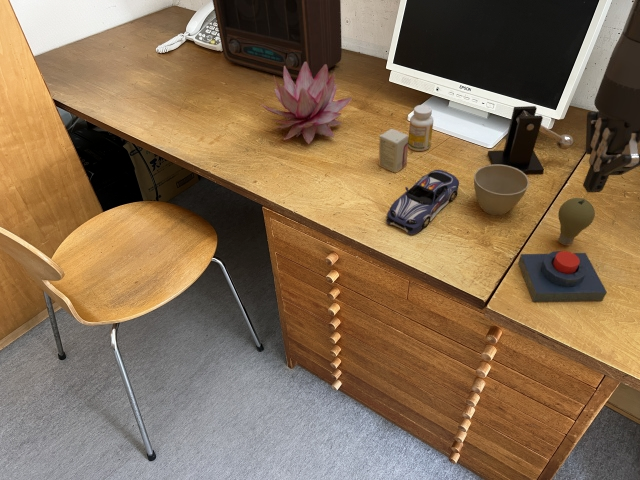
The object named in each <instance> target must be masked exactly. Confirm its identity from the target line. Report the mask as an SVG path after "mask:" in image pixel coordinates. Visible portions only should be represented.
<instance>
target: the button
mask: <svg viewBox="0 0 640 480" xmlns="http://www.w3.org/2000/svg"><path fill="white" fill-rule="evenodd" d="M560 251H561V252H559V253H557V254H556V256H555V259H554V261H553V266H554V268H555V269H556V270H557V271H559V272H561V273H564V274H572V273H574V272H575V271H576V270H577V267H578V265H579V263H580V260H579V258H578V257H577V256H576V255H575V254H573V253H574V252H571V251H567V250H560Z"/></svg>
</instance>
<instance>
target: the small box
mask: <svg viewBox="0 0 640 480" xmlns="http://www.w3.org/2000/svg"><path fill="white" fill-rule="evenodd" d="M408 137H409V134H406V133H404V132H402V131H400V130H397V129H394V128H390V129H387V130H386V131H385V132H383V133H382V134H380V135H379V146H378V147H379V148H378V165H379V167H381V168H384V169H385V170H387V171H390V172H392V173H394V174H396V173H398V172H399V171H401V170H402V169H404V168H405V167H406V166H407V164H408V150H409V149H408V148H409V146H408Z"/></svg>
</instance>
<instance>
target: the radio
mask: <svg viewBox="0 0 640 480" xmlns="http://www.w3.org/2000/svg"><path fill="white" fill-rule="evenodd" d="M341 3H342V1H341V0H212V5H213V9H214V15H215V20H216V24H217V30H218V34H219V35H218V36H219V40H220V45H221V50H222V53H223V56H224V58H225V59H226V61H227V62H231V63H233V64H237V65H241V66H244V67H248V68H251V69H253V70H254V69H255V70H259V71H262V72H265V73H270V74H274V75H278V76H282V77H283V72H284V66H285V67H286V69H287V71H288V73H289V75H290V77H291V79H292V80H297V78H298V75H299V72H300V70H301V68H302V66H303V64H304V62H307V64H308V66H309V69H310V71H311V74H312V78H313V79H314V78H315V76H316V75H317V74H318V72H319V71H320V70H321V68H322V67H323V66H324V65H325V64H327V68H328V70H330V69H331V68H333V67H334V66H335V65H337V64H338V63H340V62H341V60H342V54H343V53H342V52H343V51H342V6H341V5H342V4H341Z"/></svg>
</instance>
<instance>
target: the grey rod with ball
mask: <svg viewBox="0 0 640 480" xmlns="http://www.w3.org/2000/svg"><path fill="white" fill-rule="evenodd" d="M519 116H533V115H532V114H530V113H528V112H526V111H525V110H523V111H522V113H521V114H520V115H519ZM519 116H518V117H517V118H516V121H517V122H518V120H519ZM539 132H540V133H541V134H544V135H546V136H547V137H548V138H551V139H552V140H554V141H556V146H557V148H559V149H560V150H568V149H570V148H572V146H573V144H574V138H573V137H572V135H571V134H565V133H564V134H561V135H560V134H558V133H556V132H555V131H553V130H551V129H549V128H548V127H545V126H544V125H543V124H541V126H540V129H539Z"/></svg>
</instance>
